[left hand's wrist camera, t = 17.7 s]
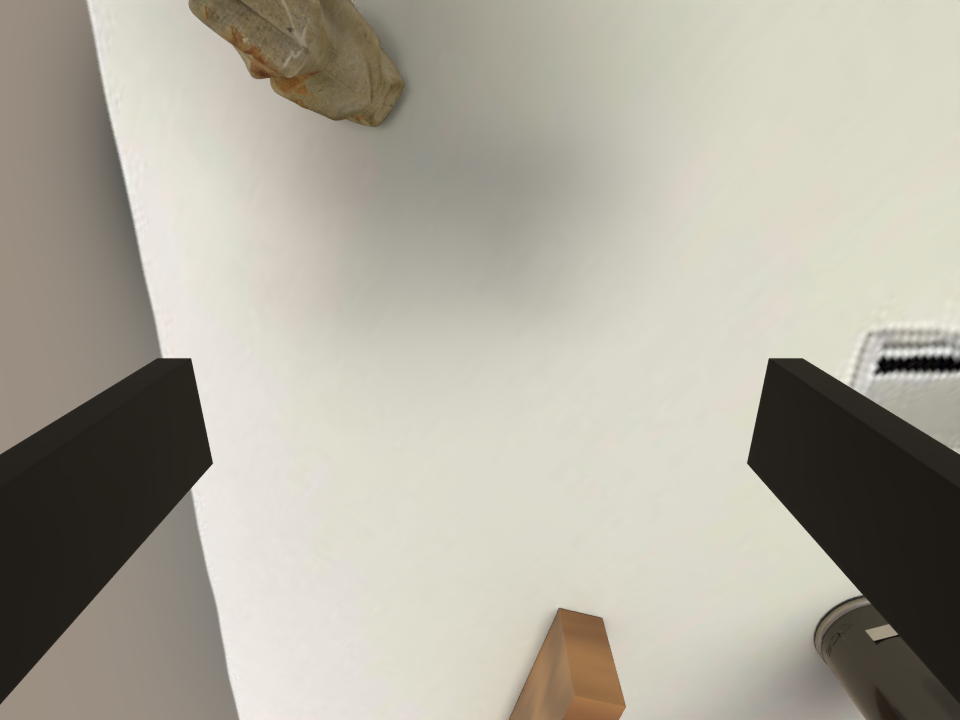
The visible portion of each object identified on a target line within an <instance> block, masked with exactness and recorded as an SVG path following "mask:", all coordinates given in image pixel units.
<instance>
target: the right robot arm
mask: <svg viewBox="0 0 960 720" xmlns="http://www.w3.org/2000/svg"><path fill="white" fill-rule="evenodd" d="M815 645H816V649H817V651H818V653H819V654H820V656H821V657H822V659H823V660H824V662H825V663H826V664H827V665H828V666H829V667H830V668H831V670H832V671H833V673H834V674H835V676H836V677H837V678H838V680H839V681H840V683H841V684H842V686H843V687H844V689H845V690H846V692H847V693H848V695H849V696H850V698H851V699H852V701H853V702H854V704H855V705H856V706H857V708H858V709H859V711H860V712H861V714H862V715H863V717H864V718H865V719H866V720H960V704H959V703H958V702H957V701H956V700H955V698H954V697H953V696H952V695H951V694H950V693H949V692H948V691H947V689H946V688H945V687H944V686H943V685H942V684H941V683H940V681H939V680H938V679H937V678H936V677H935V676H934V675H933V674H932V672H931V671H930V670H929V669H928V668H927V667H926V666H925V664H924V663H923V662H922V661H921V660H920V659H919V658H918V657H917V655H916V654H915V653H914V652H913V651H912V650H911V649H910V647H909V646H908V645H907V644H906V643H905V642H904V641H903V640H902V638H901V637H900V636H899V635H898V634H897V633H896V632H895V630H894V629H893V628H892V627H891V626H890V625H889V624H888V623H887V621H886V620H885V619H884V618H883V617H882V616H881V615H880V613H879V612H878V611H877V610H876V609H875V608H874V607H873V606H872V604H871V603H870V602H869V601H868V600H867V599H866V598H865V597H864V598H859V599H856V600H852V601H850V602H847V603H845V604H843V605H841V606H840V607H838V608H836V609H835V610H834V611H832V612H831V613H830V614H829V615H828V616H827V617H826V618H825V619H824V620H823V621H822V623H821V624H820V626H819V628H818V630H817V632H816V636H815Z"/></svg>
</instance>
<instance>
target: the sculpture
mask: <svg viewBox="0 0 960 720" xmlns="http://www.w3.org/2000/svg"><path fill="white" fill-rule="evenodd" d="M189 8H190V10H191V11H192V13H193V14H194V15H195V16H196V17H197V18H198V19H199V20H201V21H202V22H203V23H204V24H205V25H207V26H208V27H209V28H211V29H212V30H213V31H214V32H216V33H217V34H218V35H220V36H221V37H222V38H224V39H225V40H227V41H228V42H229V43H231V44H232V45H233V46H234V48H235V49H236V50H237V51H238V53H239V54H240V56H241V57H242V59H243V60H244V62H245V64H246V67H247V69H248V71H249V73H250V75H251V76H252V77H253V78H255V79H264V78H270V82H271V87H272V89H273V90H274V92H276V93H277V94H279V95H280V96H282V97H284V98H286V99H288V100H290V101H292V102H294V103H296V104H298V105H299V106H301V107H303V108H306V109H309V110H312V111H314V112H316V113H319V114H321V115H323V116H325V117H328V118H330V119H332V120H343V119H348V120H350V121H353V122H356V123H359V124H362V125H366V126H371V127H377V126H379V125H380V124H381V123H382V122H383V120H384V119H385V118H386V117H387V115H388V114H389V112H390V111H391V110H392V108H393V107H394V105H395V104H396V102H397V100H398V98H399V97H400V95H401V93H402V91H403V88H404V82H403V79H402V77H401V75H400V74H399V72H398V70H397V68H396V66H395V65H394V64H393V62H392V61H391V59H390V58H389V56H388V55H387V54H386V53H385V51H384V50H383V49H382V48H381V45H380V41H379V38H378V37H377V35H376V33H375V32H374V30H373V29H372V28H371V27H370V25H369V24H368V23H367V22H366V21H365V19H364V18H363V17H362V16H361V14H360V13H359V11H358V10H357V9H356V7H355V6H354V5H353V3H352V2H351V0H189Z"/></svg>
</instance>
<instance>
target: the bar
mask: <svg viewBox="0 0 960 720" xmlns="http://www.w3.org/2000/svg"><path fill="white" fill-rule="evenodd" d="M625 708H626V705H625V701H624V697H623V694H622V690H621V686H620V682H619V679H618V675H617V671H616V667H615V664H614V660H613V656H612V652H611V649H610V645H609V641H608V637H607V634H606V630H605V626H604V622H603V619H602V618H598V617H594V616H590V615H585V614H581V613H577V612H572V611H568V610H563V609H559V611H558V613H557V615H556V617H555V619H554V622H553V624H552V626H551V628H550V631H549V633H548V635H547V637H546V639H545V642H544V644H543V646H542V648H541V650H540V653H539V655H538V657H537V659H536V662H535V664H534V666H533V668H532V670H531V673H530V675H529V677H528V679H527V681H526V684H525V686H524V688H523V690H522V693H521V695H520V697H519V699H518V701H517V704H516V706H515V708H514V710H513V712H512V715H511V717H510V719H509V720H619V718H620V717H621V715H622V713H623V711H624V709H625Z"/></svg>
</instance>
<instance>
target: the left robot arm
mask: <svg viewBox="0 0 960 720" xmlns="http://www.w3.org/2000/svg"><path fill="white" fill-rule="evenodd" d="M212 464H213V461H212V457H211V452H210V447H209V442H208V437H207V433H206V428H205V423H204V418H203V413H202V408H201V404H200V399H199V394H198V389H197V384H196V380H195V375H194V370H193V365H192V360H191V358H157V359H156V360H154V361H152V362H151V363H149V364H147V365H146V366H144V367H142V368H141V369H139V370H138V371H136V372H134V373H133V374H131V375H129V376H128V377H126V378H125V379H123V380H121V381H120V382H118V383H116V384H115V385H113V386H112V387H110V388H108V389H107V390H105V391H103V392H102V393H100V394H98V395H97V396H95V397H94V398H92V399H90V400H89V401H87V402H85V403H84V404H82V405H80V406H79V407H77V408H76V409H74V410H72V411H71V412H69V413H67V414H66V415H64V416H62V417H61V418H59V419H58V420H56V421H54V422H53V423H51V424H49V425H48V426H46V427H45V428H43V429H41V430H40V431H38V432H36V433H35V434H33V435H31V436H30V437H28V438H27V439H25V440H23V441H22V442H20V443H18V444H17V445H15V446H14V447H12V448H10V449H9V450H7V451H5V452H4V453H2V454H0V704H1V703H2V702H3V701H4V700H5V698H6V697H7V696H8V695H9V694H10V693H11V692H12V691H13V689H14V688H15V687H16V686H17V685H18V684H19V683H20V681H21V680H22V679H23V678H24V677H25V676H26V675H27V674H28V672H29V671H30V670H31V669H32V668H33V667H34V666H35V664H36V663H37V662H38V661H39V660H40V659H41V658H42V657H43V655H44V654H45V653H46V652H47V651H48V650H49V649H50V647H51V646H52V645H53V644H54V643H55V642H56V641H57V639H58V638H59V637H60V636H61V635H62V634H63V633H64V632H65V630H66V629H67V628H68V627H69V626H70V625H71V624H72V623H73V621H74V620H75V619H76V618H77V617H78V616H79V615H80V613H81V612H82V611H83V610H84V609H85V608H86V607H87V606H88V604H89V603H90V602H91V601H92V600H93V599H94V598H95V596H96V595H97V594H98V593H99V592H100V591H101V590H102V589H103V587H104V586H105V585H106V584H107V583H108V582H109V581H110V579H111V578H112V577H113V576H114V575H115V574H116V573H117V572H118V570H119V569H120V568H121V567H122V566H123V565H124V564H125V562H126V561H127V560H128V559H129V558H130V557H131V556H132V554H133V553H134V552H135V551H136V550H137V549H138V548H139V547H140V545H141V544H142V543H143V542H144V541H145V540H146V539H147V538H148V536H149V535H150V534H151V533H152V532H153V531H154V530H155V528H156V527H157V526H158V525H159V524H160V523H161V522H162V521H163V519H164V518H165V517H166V516H167V515H168V514H169V513H170V511H171V510H172V509H173V508H174V507H175V506H176V505H177V504H178V502H179V501H180V500H181V499H182V498H183V497H184V496H185V495H186V493H187V492H188V491H189V490H190V489H191V488H192V487H193V485H194V484H195V483H196V482H197V481H198V480H199V479H200V478H201V476H202V475H203V474H204V473H205V472H206V471H207V470H208V468H209V467H210V466H211V465H212ZM747 464H748V465H749V466H750V467H751V468H752V470H753V471H754V472H755V473H756V474H757V475H758V476H759V478H760V479H761V480H762V481H763V482H764V483H765V484H766V485H767V487H768V488H769V489H770V490H771V491H772V492H773V493H774V495H775V496H776V497H777V498H778V499H779V500H780V501H781V502H782V504H783V505H784V506H785V507H786V508H787V509H788V510H789V512H790V513H791V514H792V515H793V516H794V517H795V518H796V519H797V521H798V522H799V523H800V524H801V525H802V526H803V527H804V528H805V530H806V531H807V532H808V533H809V534H810V535H811V536H812V538H813V539H814V540H815V541H816V542H817V543H818V544H819V545H820V547H821V548H822V549H823V550H824V551H825V552H826V553H827V555H828V556H829V557H830V558H831V559H832V560H833V561H834V562H835V564H836V565H837V566H838V567H839V568H840V569H841V570H842V572H843V573H844V574H845V575H846V576H847V577H848V578H849V579H850V581H851V582H852V583H853V584H854V585H855V586H856V587H857V589H858V590H859V591H860V592H861V593H862V594H863V595H864V596H865V598H866V599H867V600H868V601H869V602H870V603H871V604H872V606H873V607H874V608H875V609H876V610H877V611H878V612H879V613H880V615H881V616H882V617H883V618H884V619H885V620H886V621H887V623H888V624H889V625H890V626H891V627H892V628H893V629H894V630H895V632H896V633H897V634H898V635H899V636H900V637H901V638H902V640H903V641H904V642H905V643H906V644H907V645H908V646H909V647H910V649H911V650H912V651H913V652H914V653H915V654H916V655H917V657H918V658H919V659H920V660H921V661H922V662H923V663H924V664H925V666H926V667H927V668H928V669H929V670H930V671H931V672H932V674H933V675H934V676H935V677H936V678H937V679H938V680H939V681H940V683H941V684H942V685H943V686H944V687H945V688H946V689H947V691H948V692H949V693H950V694H951V695H952V696H953V697H954V698H955V700H956V701H957V702H958V703H959V704H960V454H958V453H956V452H955V451H953V450H951V449H950V448H948V447H947V446H945V445H943V444H942V443H940V442H938V441H937V440H935V439H933V438H932V437H930V436H929V435H927V434H925V433H924V432H922V431H920V430H919V429H917V428H915V427H914V426H912V425H911V424H909V423H907V422H906V421H904V420H902V419H901V418H899V417H898V416H896V415H894V414H893V413H891V412H889V411H888V410H886V409H884V408H883V407H881V406H880V405H878V404H876V403H875V402H873V401H871V400H870V399H868V398H867V397H865V396H863V395H862V394H860V393H858V392H857V391H855V390H853V389H852V388H850V387H849V386H847V385H845V384H844V383H842V382H840V381H839V380H837V379H835V378H834V377H832V376H831V375H829V374H827V373H826V372H824V371H822V370H821V369H819V368H818V367H816V366H814V365H813V364H811V363H809V362H808V361H806V360H804V359H803V358H769V360H768V365H767V370H766V375H765V380H764V384H763V389H762V394H761V399H760V404H759V408H758V413H757V418H756V423H755V428H754V433H753V437H752V442H751V447H750V452H749V457H748V461H747Z"/></svg>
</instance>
